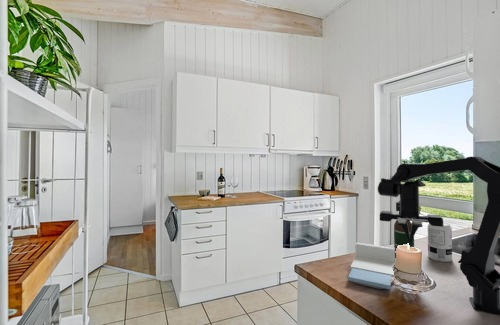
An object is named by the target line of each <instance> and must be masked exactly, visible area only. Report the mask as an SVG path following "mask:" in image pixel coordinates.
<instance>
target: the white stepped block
mask: <svg viewBox="0 0 500 325" xmlns="http://www.w3.org/2000/svg"><path fill="white" fill-rule="evenodd" d="M394 265H395V266H396V254H395V248H394V247H390V246H385V245H384V246H383V245H377V244H369V243H364V242H363V243H362V242H355V256H354V258H353V260H352V263H351V265H350V271H351V270H352V268H355V269H360V270H365V271H370V272H375V273H381V274H386V275H391V277H394V278H395V276H394V271H393V269H392V267H393V266H394Z"/></svg>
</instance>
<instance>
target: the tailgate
mask: <svg viewBox="0 0 500 325" xmlns="http://www.w3.org/2000/svg"><path fill="white" fill-rule="evenodd" d="M348 281H349V282H350V281H351V282H353V283H355V284H356V285H361V286H365V287H369V288H374V289H378V290H383V289H387V290H391V287H392V286H391V285H392V283H391V275H386V274H381V273H375V272H370V271H365V270H360V269H355V268H352V270H351V269H350V272H349V275H348Z"/></svg>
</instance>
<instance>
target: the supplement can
mask: <svg viewBox="0 0 500 325" xmlns="http://www.w3.org/2000/svg"><path fill="white" fill-rule="evenodd" d="M427 256H428V257H429V258H430V259H432V261H433V260H434V261H437V262H442V263H449V262H451V261H453V229H452V226H451V225H450V224H449V223H447V222H443V227H440V226H432V225H431V224H429V223H428V224H427Z"/></svg>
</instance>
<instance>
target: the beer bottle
mask: <svg viewBox="0 0 500 325" xmlns="http://www.w3.org/2000/svg"><path fill="white" fill-rule="evenodd" d="M398 202H400V200H399V201H398ZM398 214H399V215H400V211H398ZM403 218H405V217H403ZM407 223H408V230H409V235H410V233H411V226H412V221H408V220H407ZM393 239H394V240H393V248H395V251H396V248H397V246H398V245H403V244H407V243H409V245H410V247H414V248H415V236H414V237H413V240H412V242H411V243H410V242H408V239H407V237H406V234H405V232H404V230H403V228H402V226H401V225H398V221H397V219H395V222H394V224H393Z"/></svg>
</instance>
